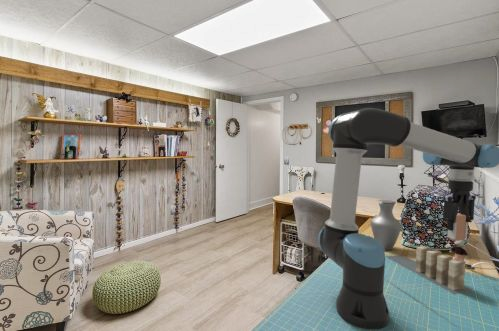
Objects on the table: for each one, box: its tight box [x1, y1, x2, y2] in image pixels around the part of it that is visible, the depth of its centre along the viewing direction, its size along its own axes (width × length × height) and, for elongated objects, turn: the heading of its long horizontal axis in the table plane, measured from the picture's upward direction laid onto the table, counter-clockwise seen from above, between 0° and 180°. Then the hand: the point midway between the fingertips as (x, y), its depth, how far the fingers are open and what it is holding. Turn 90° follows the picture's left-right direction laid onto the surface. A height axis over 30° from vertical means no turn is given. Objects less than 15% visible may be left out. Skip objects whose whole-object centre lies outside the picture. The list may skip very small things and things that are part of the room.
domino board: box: [385, 254, 474, 295], centre depth 105 cm, size 9×32×1 cm, turn 14°
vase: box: [370, 199, 403, 251], centre depth 132 cm, size 14×14×25 cm
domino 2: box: [425, 249, 442, 278], centre depth 101 cm, size 5×2×10 cm, turn 104°
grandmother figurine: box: [449, 240, 470, 261], centre depth 110 cm, size 8×4×13 cm, turn 27°
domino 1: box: [415, 245, 432, 273], centre depth 105 cm, size 5×2×10 cm, turn 104°
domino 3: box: [436, 254, 454, 284], centre depth 96 cm, size 5×2×10 cm, turn 104°
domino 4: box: [449, 213, 466, 242], centre depth 101 cm, size 5×2×10 cm, turn 103°
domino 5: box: [448, 259, 466, 290], centre depth 92 cm, size 5×2×10 cm, turn 104°
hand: (457, 237), depth 101 cm, fingers closed on domino 4, 5 cm apart
